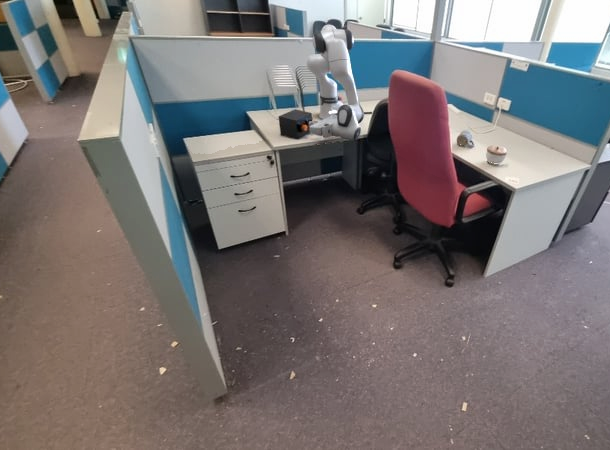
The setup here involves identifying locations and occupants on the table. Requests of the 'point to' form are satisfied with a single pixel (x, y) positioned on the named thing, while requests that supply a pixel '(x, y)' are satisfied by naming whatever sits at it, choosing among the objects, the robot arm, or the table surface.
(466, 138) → the grey rounded lump
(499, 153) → the trinket box
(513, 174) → the table surface
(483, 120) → the table surface
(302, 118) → the toaster oven
